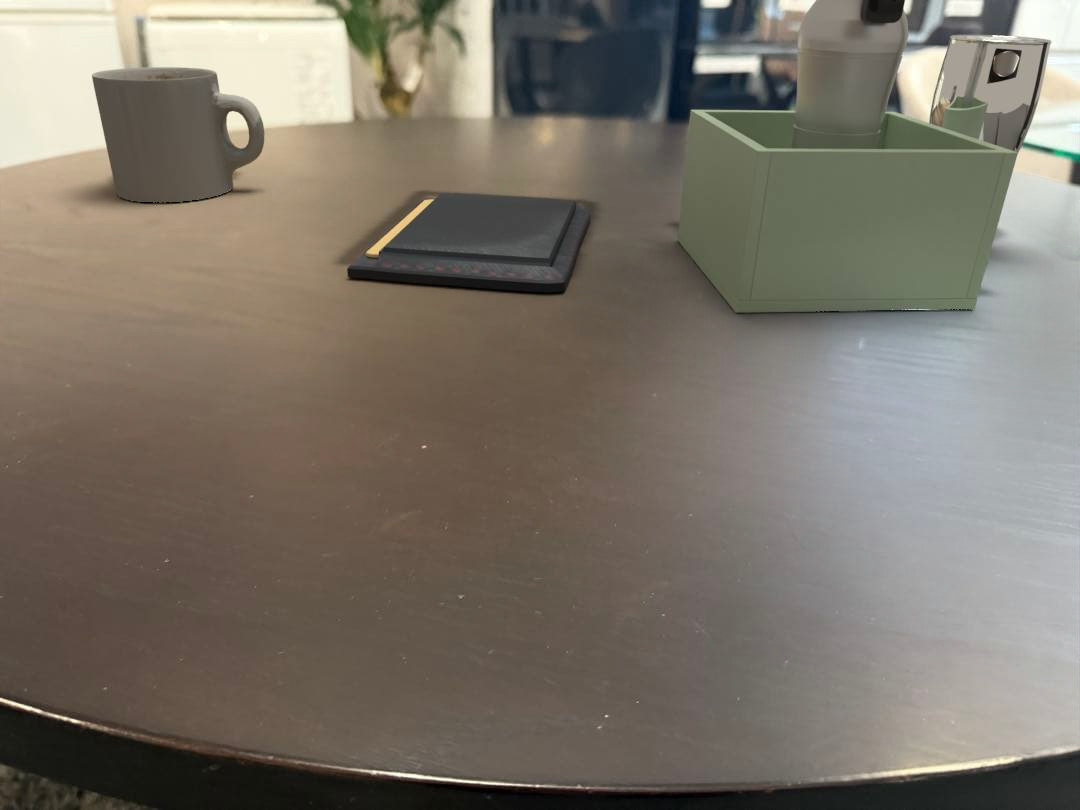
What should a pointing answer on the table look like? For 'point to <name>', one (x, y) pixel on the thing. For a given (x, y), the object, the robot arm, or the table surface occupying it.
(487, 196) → the wallet
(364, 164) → the table surface
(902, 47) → the plastic bottle
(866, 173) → the bin
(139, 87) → the coffee mug
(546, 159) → the table surface
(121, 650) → the table surface
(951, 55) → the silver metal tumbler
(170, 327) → the table surface
